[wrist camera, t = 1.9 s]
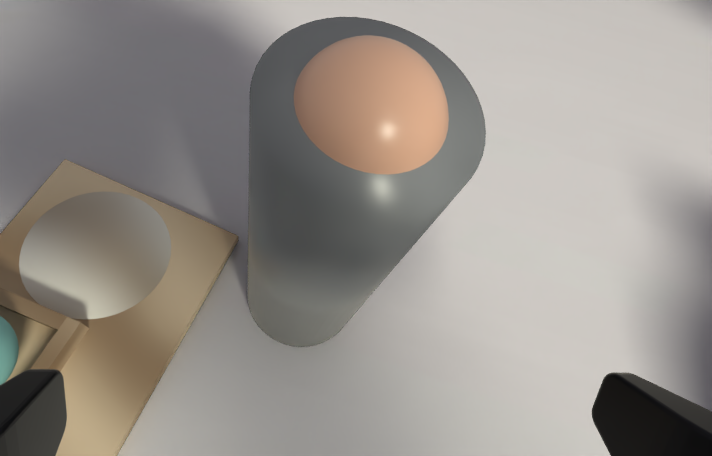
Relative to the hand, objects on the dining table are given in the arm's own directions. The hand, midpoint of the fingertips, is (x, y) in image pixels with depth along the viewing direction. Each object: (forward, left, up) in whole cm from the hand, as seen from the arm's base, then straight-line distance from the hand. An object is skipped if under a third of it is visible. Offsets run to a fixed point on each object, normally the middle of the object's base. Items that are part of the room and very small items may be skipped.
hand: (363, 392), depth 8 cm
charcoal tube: (+5, +2, -11) cm, 13 cm away
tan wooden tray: (0, +9, -11) cm, 15 cm away
